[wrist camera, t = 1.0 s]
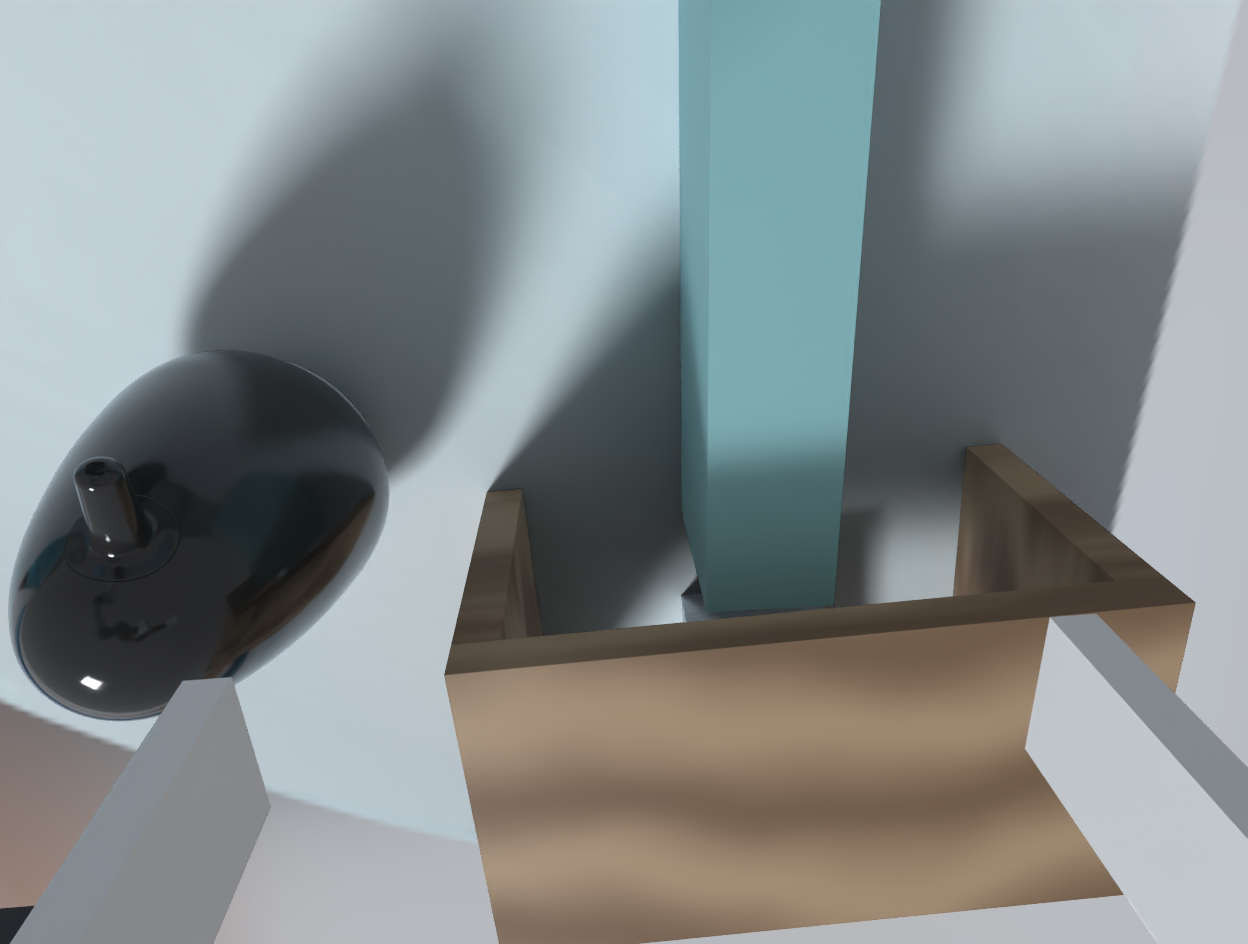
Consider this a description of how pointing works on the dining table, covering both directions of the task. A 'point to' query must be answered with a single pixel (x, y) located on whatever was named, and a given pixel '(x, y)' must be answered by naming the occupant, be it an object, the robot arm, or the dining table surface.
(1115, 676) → the robot arm
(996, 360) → the dining table surface
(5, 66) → the dining table surface
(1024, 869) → the walnut shelf
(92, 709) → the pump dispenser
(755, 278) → the teal batten
